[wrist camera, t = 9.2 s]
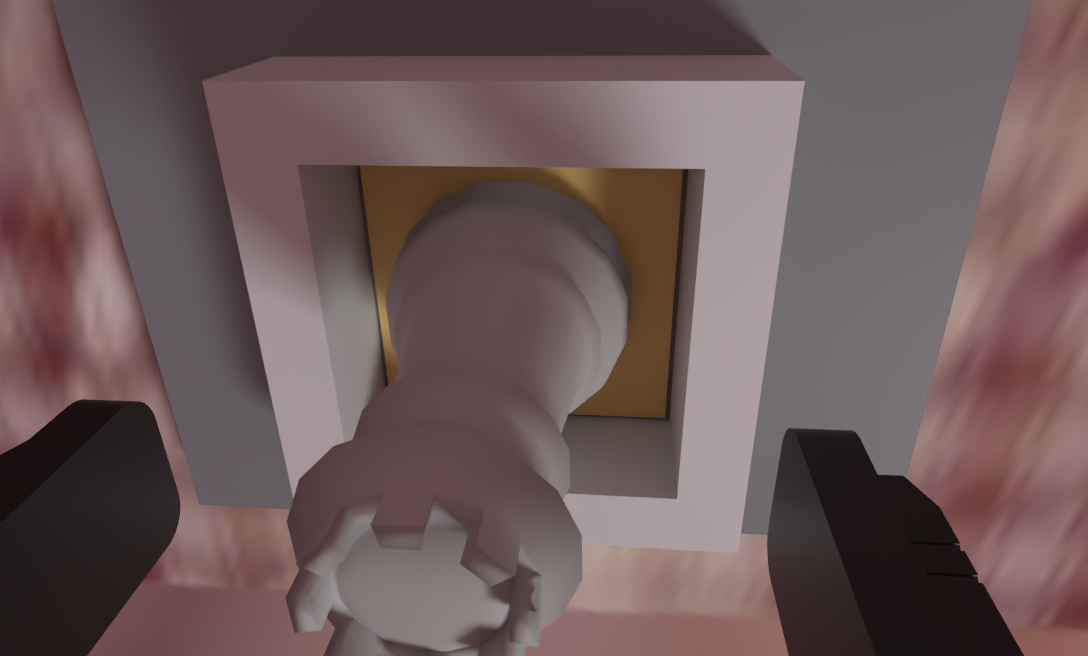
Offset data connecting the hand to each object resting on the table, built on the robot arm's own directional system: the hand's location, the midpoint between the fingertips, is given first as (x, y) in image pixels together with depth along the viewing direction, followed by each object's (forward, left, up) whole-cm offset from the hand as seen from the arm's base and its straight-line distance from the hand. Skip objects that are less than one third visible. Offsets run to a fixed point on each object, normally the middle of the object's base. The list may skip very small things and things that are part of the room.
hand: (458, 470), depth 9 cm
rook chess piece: (0, 0, -6) cm, 6 cm away
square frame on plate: (0, 0, -7) cm, 7 cm away
